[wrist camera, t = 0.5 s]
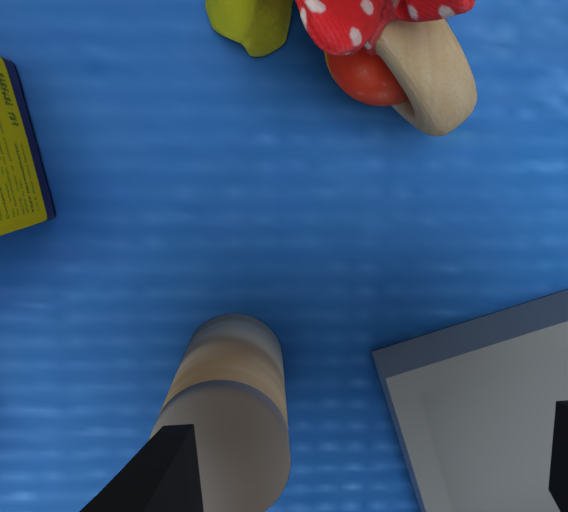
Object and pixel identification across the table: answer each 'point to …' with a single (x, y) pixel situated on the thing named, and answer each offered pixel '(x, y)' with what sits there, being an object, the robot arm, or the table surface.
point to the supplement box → (19, 160)
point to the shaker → (233, 412)
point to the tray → (481, 407)
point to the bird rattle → (371, 50)
